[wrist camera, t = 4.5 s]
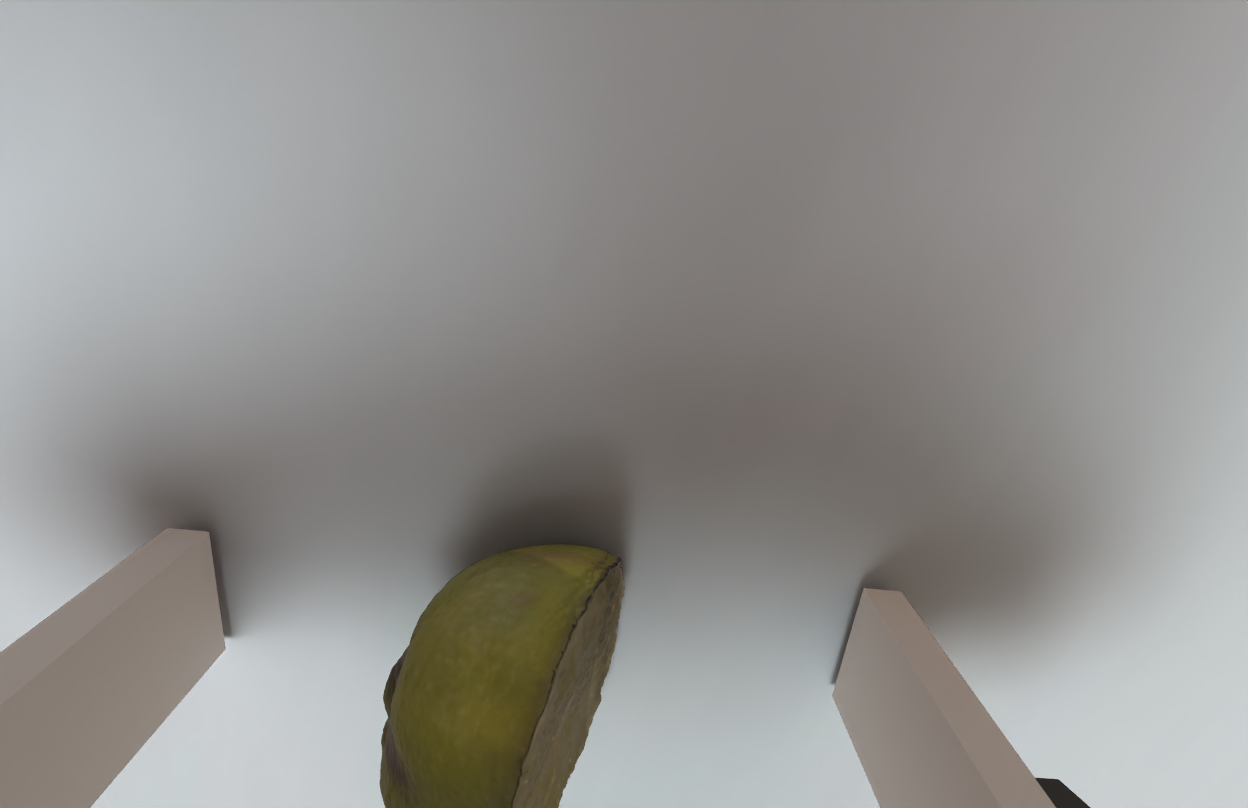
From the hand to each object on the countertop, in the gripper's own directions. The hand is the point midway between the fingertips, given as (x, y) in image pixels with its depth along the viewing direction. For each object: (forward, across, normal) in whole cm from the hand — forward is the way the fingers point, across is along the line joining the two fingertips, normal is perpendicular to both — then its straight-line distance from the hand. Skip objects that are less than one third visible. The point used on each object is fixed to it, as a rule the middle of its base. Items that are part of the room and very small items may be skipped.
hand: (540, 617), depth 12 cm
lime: (0, 0, 0) cm, 0 cm away
